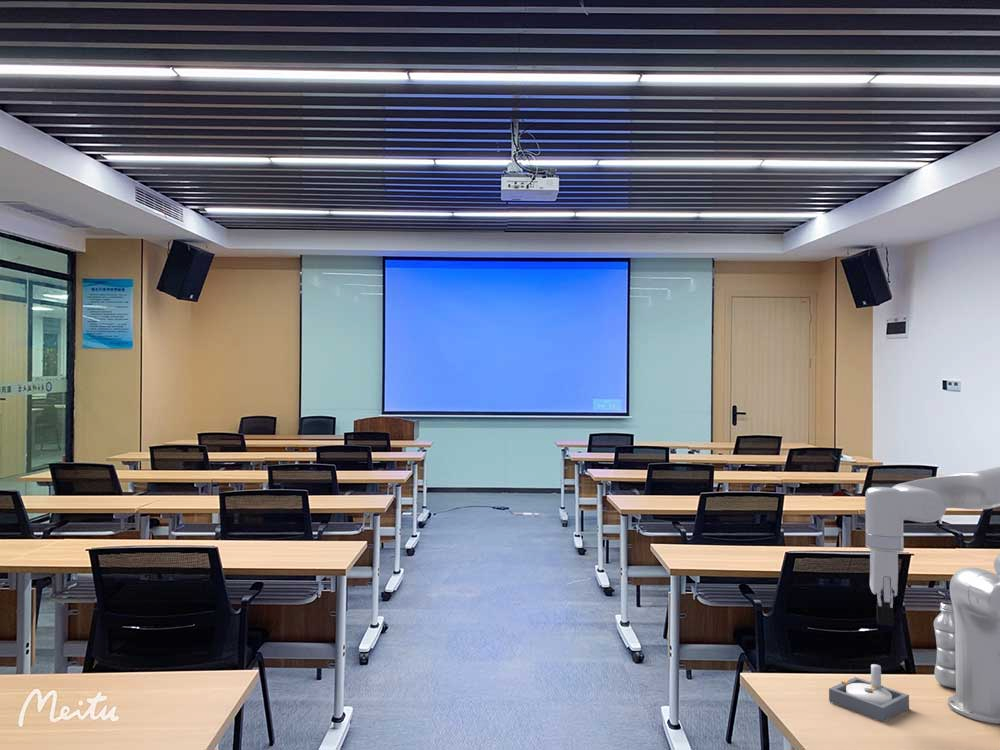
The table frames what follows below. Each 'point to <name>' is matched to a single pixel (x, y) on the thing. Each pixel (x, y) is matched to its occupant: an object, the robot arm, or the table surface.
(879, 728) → the table surface
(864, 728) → the table surface
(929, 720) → the table surface
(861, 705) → the housing
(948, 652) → the plastic bottle
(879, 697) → the white crank wheel
